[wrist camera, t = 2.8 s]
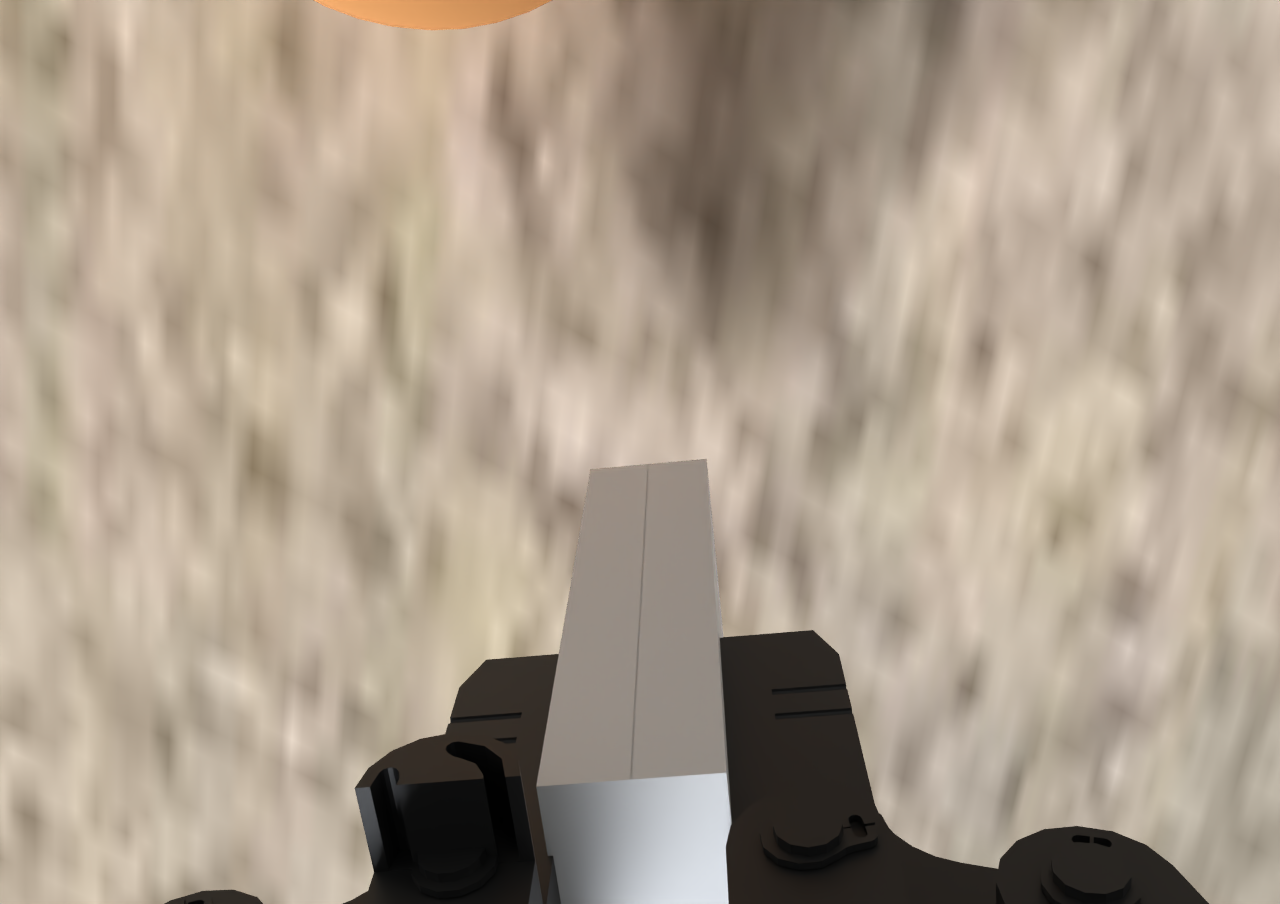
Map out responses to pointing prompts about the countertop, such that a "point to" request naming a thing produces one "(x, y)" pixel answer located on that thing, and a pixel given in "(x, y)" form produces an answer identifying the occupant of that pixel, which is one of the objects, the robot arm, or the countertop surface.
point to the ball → (433, 12)
